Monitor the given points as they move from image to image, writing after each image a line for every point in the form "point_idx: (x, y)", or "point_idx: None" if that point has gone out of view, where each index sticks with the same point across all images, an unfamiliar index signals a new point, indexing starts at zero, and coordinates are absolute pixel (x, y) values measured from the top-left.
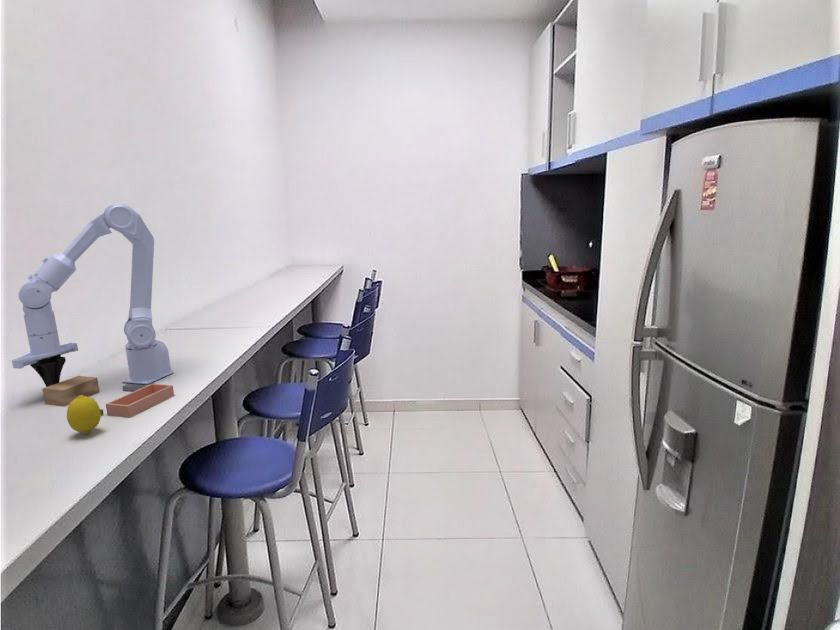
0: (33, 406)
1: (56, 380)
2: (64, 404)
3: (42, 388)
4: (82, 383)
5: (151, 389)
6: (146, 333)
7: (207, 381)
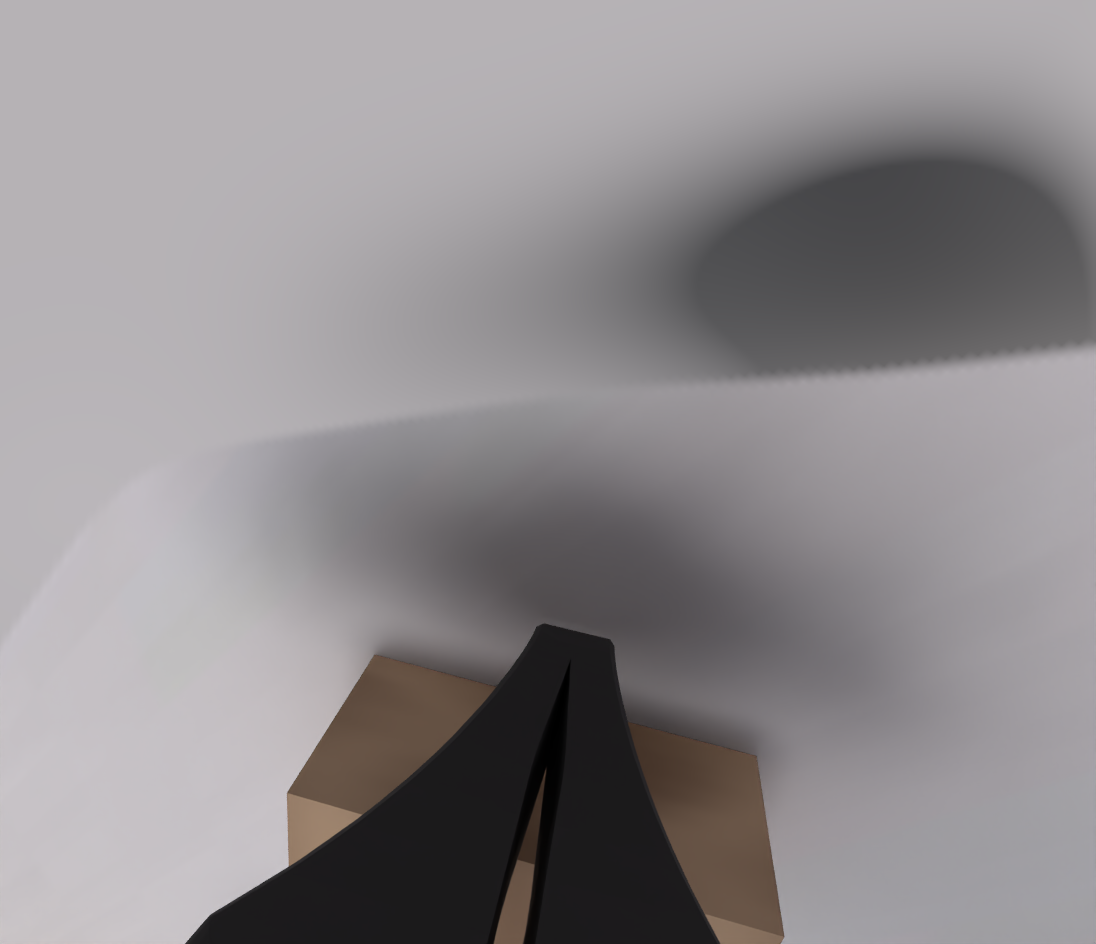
0: (304, 592)
1: (540, 827)
2: None
3: (292, 791)
4: None
5: None
6: None
7: None
